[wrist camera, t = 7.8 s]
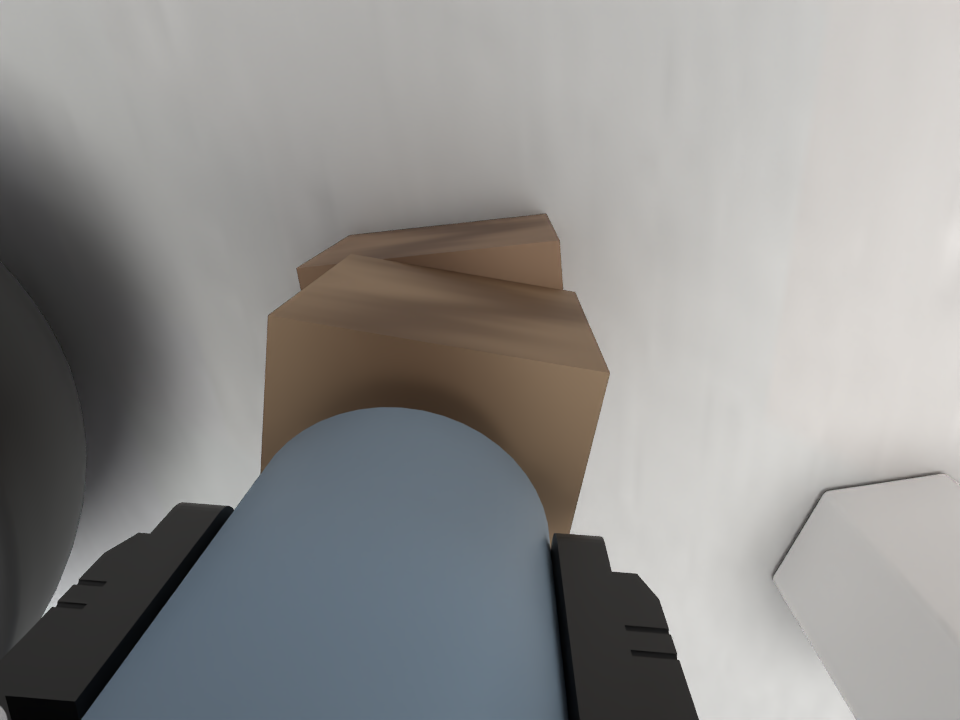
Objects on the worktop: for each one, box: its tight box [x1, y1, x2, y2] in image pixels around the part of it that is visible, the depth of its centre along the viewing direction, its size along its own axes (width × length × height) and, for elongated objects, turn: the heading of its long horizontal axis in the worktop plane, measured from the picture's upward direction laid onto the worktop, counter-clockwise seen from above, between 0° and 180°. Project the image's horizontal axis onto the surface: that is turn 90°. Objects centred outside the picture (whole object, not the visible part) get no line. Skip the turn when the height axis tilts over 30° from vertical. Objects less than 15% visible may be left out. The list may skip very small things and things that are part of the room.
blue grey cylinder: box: [81, 407, 569, 720], centre depth 7 cm, size 5×5×6 cm
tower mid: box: [261, 254, 610, 548], centre depth 15 cm, size 6×6×6 cm
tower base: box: [296, 214, 563, 291], centre depth 20 cm, size 7×7×6 cm
